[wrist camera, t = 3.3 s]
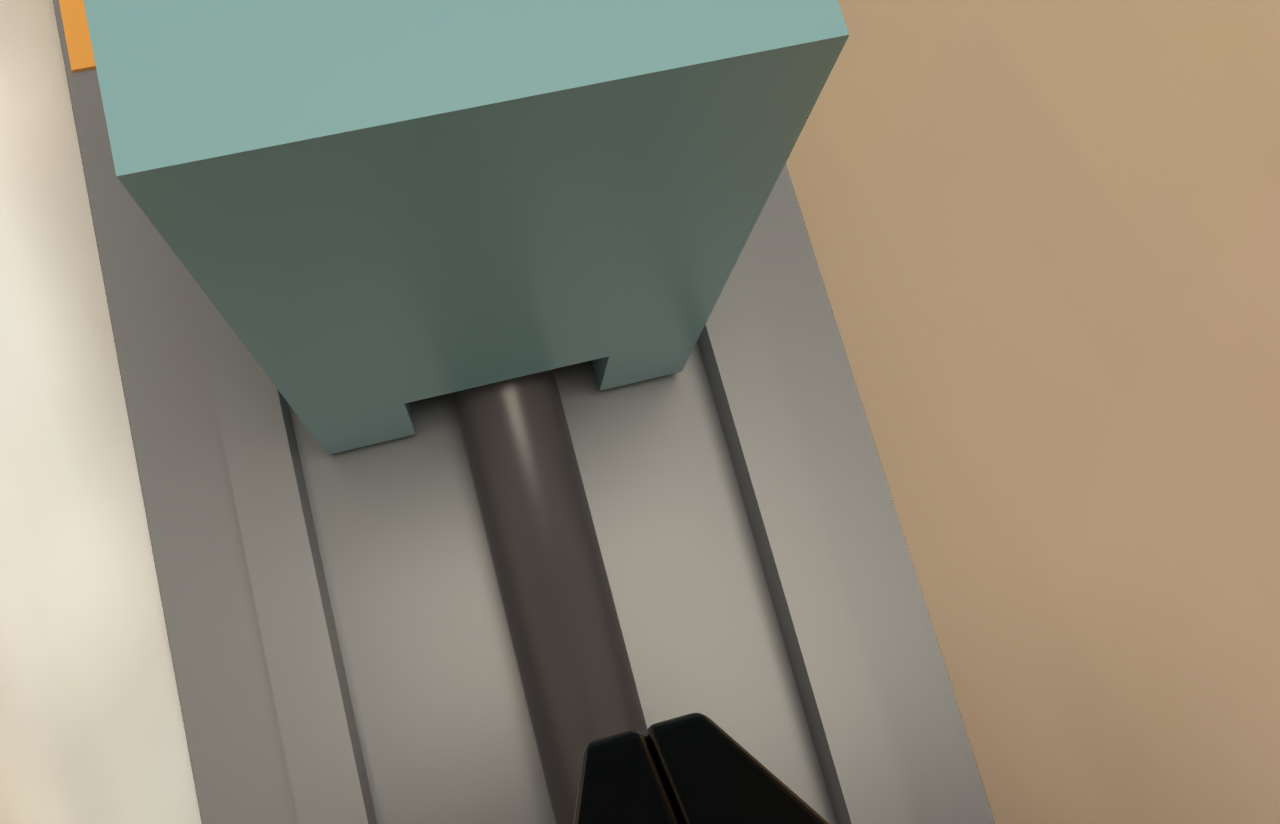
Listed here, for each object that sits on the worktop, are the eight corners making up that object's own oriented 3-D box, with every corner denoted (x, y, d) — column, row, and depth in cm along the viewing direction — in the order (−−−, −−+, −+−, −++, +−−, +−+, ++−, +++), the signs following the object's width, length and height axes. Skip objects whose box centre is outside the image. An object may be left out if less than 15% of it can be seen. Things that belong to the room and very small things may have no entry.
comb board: (1035, 1035, 16) (1322, 1217, 10) (307, 1287, 15) (172, 1666, 9) (569, -458, 22) (588, -882, 16) (-2, -390, 20) (-212, -834, 14)
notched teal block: (681, 371, 17) (849, 34, 8) (327, 455, 16) (114, 176, 8) (576, 1, 18) (628, -617, 10) (242, 62, 17) (-22, -555, 9)
